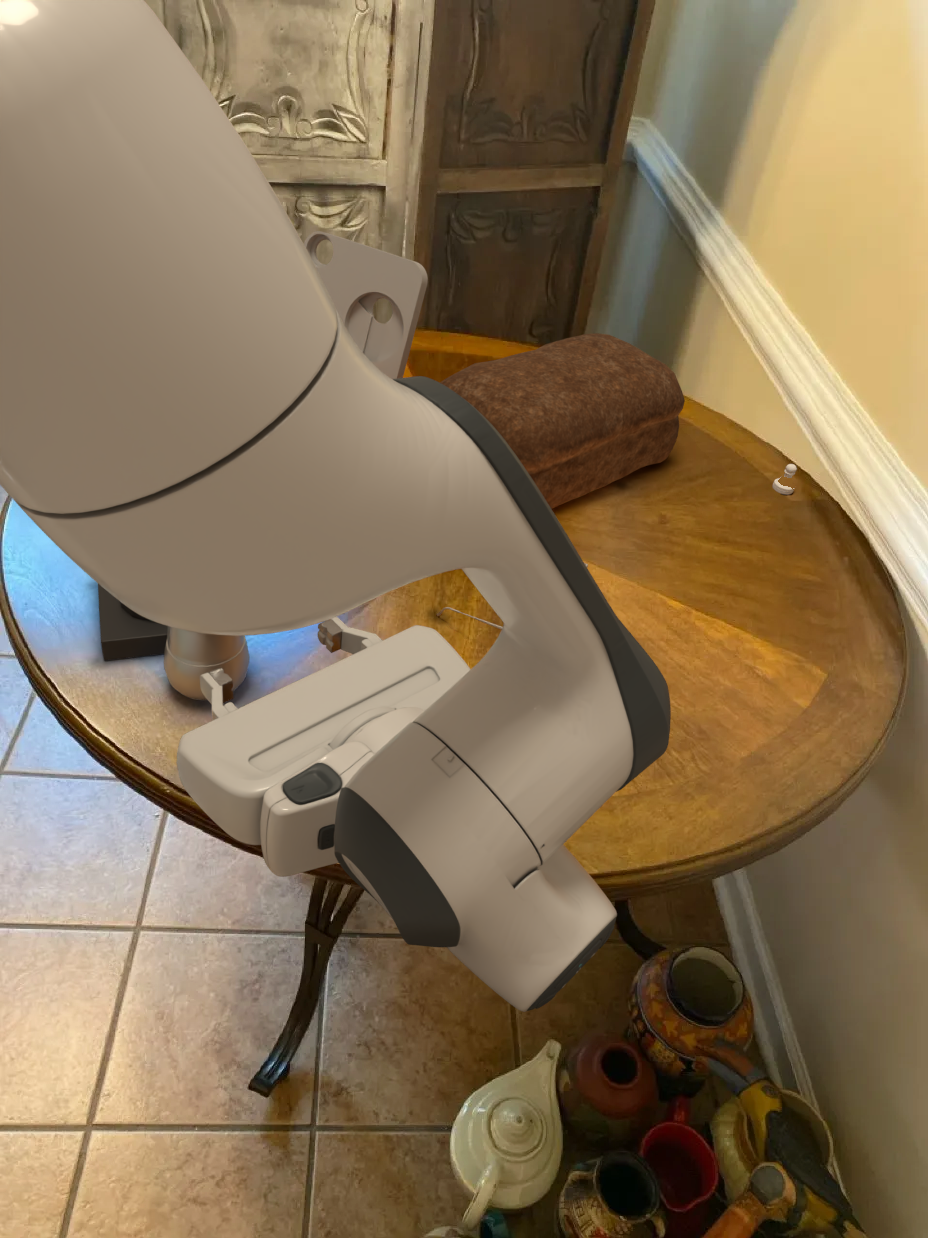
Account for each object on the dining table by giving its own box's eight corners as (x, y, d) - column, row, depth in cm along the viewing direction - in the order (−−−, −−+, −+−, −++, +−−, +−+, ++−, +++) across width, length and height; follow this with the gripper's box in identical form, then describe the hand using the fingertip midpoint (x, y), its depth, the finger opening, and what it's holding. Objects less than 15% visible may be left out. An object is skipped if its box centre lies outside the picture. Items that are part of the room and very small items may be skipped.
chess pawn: (770, 490, 112) (780, 466, 110) (773, 481, 114) (783, 457, 112) (791, 497, 112) (802, 472, 109) (793, 487, 114) (804, 463, 111)
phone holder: (263, 390, 114) (262, 243, 102) (311, 363, 121) (314, 223, 110) (382, 437, 109) (395, 289, 98) (424, 406, 116) (440, 264, 105)
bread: (679, 462, 115) (711, 364, 106) (504, 536, 97) (526, 426, 89) (581, 402, 123) (604, 307, 115) (404, 461, 106) (416, 354, 97)
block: (103, 661, 76) (97, 625, 73) (99, 585, 83) (94, 550, 80) (227, 647, 79) (225, 612, 76) (213, 575, 86) (211, 541, 83)
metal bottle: (158, 664, 76) (135, 457, 63) (239, 648, 79) (233, 447, 66) (175, 719, 72) (154, 509, 59) (259, 700, 75) (257, 496, 62)
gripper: (519, 676, 61) (390, 567, 68) (251, 827, 49) (129, 675, 56) (504, 739, 65) (383, 630, 72) (253, 892, 53) (138, 744, 60)
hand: (270, 651), depth 64 cm, fingers open, 8 cm apart
